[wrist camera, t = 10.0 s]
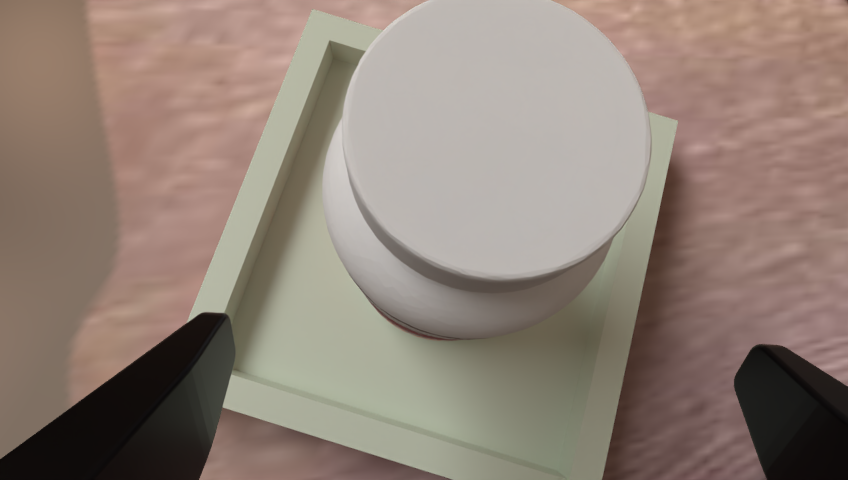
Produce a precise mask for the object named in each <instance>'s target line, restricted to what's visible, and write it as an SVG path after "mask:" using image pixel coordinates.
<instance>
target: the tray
mask: <svg viewBox="0 0 848 480" xmlns="http://www.w3.org/2000/svg"><path fill="white" fill-rule="evenodd" d="M382 31H383V30H380V29H376V28H373V27H370V26H367V25H363V24H360V23H357V22H353V21H350V20H347V19H344V18H340V17H337V16H334V15H331V14H327V13H324V12H321V11H318V10H314V9H312V11H311V14H310V16H309V19H308V21H307V24H306V26H305V29H304V31H303V34H302V36H301V39H300V41H299V44H298V46H297V49H296V51H295V54H294V56H293V59H292V61H291V64H290V66H289V69H288V71H287V74H286V76H285V79H284V81H283V84H282V86H281V89H280V91H279V94H278V96H277V99H276V101H275V104H274V106H273V109H272V111H271V114H270V116H269V119H268V121H267V124H266V126H265V129H264V131H263V134H262V136H261V139H260V141H259V144H258V146H257V149H256V151H255V154H254V156H253V159H252V161H251V164H250V166H249V169H248V171H247V174H246V176H245V179H244V181H243V184H242V186H241V189H240V191H239V194H238V196H237V199H236V201H235V204H234V206H233V209H232V211H231V214H230V216H229V219H228V221H227V224H226V226H225V229H224V231H223V234H222V236H221V239H220V241H219V244H218V246H217V249H216V251H215V254H214V256H213V259H212V261H211V264H210V266H209V269H208V271H207V274H206V276H205V279H204V281H203V284H202V286H201V289H200V291H199V294H198V296H197V299H196V301H195V304H194V306H193V309H192V311H191V314H190V316H189V319H188V321H187V323H188V322H189V321H190V320H192V319H193V318H194V317H196V316H197V315H199V314H200V313H203V312H217V313H226V314H227V315H228V316H229V317H230V320H231V326H232V331H233V337H234V342H235V348H236V355H235V362H234V366H233V370H232V373H231V377H230V381H229V385H228V388H227V392H226V396H225V399H224V403H223V408H226V409H229V410H232V411H236V412H239V413H242V414H245V415H248V416H252V417H255V418H258V419H261V420H264V421H268V422H271V423H274V424H277V425H280V426H283V427H287V428H290V429H293V430H296V431H299V432H303V433H306V434H309V435H312V436H315V437H319V438H322V439H325V440H328V441H331V442H334V443H338V444H341V445H344V446H347V447H350V448H354V449H357V450H360V451H363V452H366V453H370V454H373V455H376V456H379V457H382V458H385V459H389V460H392V461H395V462H398V463H401V464H405V465H408V466H411V467H414V468H417V469H421V470H424V471H427V472H430V473H433V474H437V475H440V476H443V477H446V478H449V479H452V480H602V477H603V473H604V468H605V463H606V459H607V454H608V449H609V444H610V440H611V435H612V430H613V426H614V421H615V416H616V411H617V407H618V402H619V397H620V393H621V388H622V383H623V378H624V374H625V369H626V364H627V359H628V355H629V350H630V345H631V341H632V336H633V331H634V326H635V322H636V317H637V312H638V308H639V303H640V298H641V293H642V289H643V284H644V279H645V275H646V270H647V265H648V260H649V256H650V251H651V246H652V242H653V237H654V232H655V227H656V223H657V218H658V213H659V208H660V204H661V199H662V194H663V190H664V185H665V180H666V175H667V171H668V166H669V161H670V157H671V152H672V147H673V142H674V138H675V133H676V128H677V124H678V121H677V120H673V119H670V118H667V117H664V116H660V115H657V114H654V113H651V112H648V114H649V120H650V127H651V138H652V152H651V161H650V166H649V171H648V175H647V179H646V183H645V187H644V190H643V192H642V194H641V197H640V199H639V201H638V203H637V205H636V207H635V209H634V211H633V212H632V214H631V216H630V217H629V219H628V220H627V222H626V223H625V225H624V226H623V228H622V229H621V230H620V231H619V232H618V234H617V235H616V236H615V237H614V238H613V240H612V244H611V247H610V249H609V251H608V254H607V256H606V258H605V260H604V262H603V263H602V265H601V267H600V268H599V270H598V272H597V273H596V275H595V276H594V277H593V279H592V280H591V281H590V283H589V284H588V285H587V286H586V287H585V288H584V289H583V291H582V292H581V293H580V294H579V295H578V296H577V297H576V298H575V299H574V300H572V301H571V302H570V303H569V304H568V305H567V306H565V307H564V308H563V309H561V310H560V311H558V312H557V313H556V314H554V315H552V316H551V317H549V318H547V319H545V320H544V321H542V322H540V323H538V324H536V325H533V326H531V327H529V328H526V329H524V330H521V331H518V332H514V333H510V334H506V335H502V336H496V337H489V338H484V339H470V340H453V341H437V340H429V339H425V338H420V337H417V336H414V335H412V334H409V333H407V332H405V331H403V330H401V329H399V328H397V327H396V326H394V325H393V324H391V323H390V322H389V321H387V320H386V319H385V318H384V317H383V316H381V315H380V314H379V313H378V312H377V310H376V309H375V308H374V307H373V306H372V305H371V303H370V302H369V300H368V299H367V298H366V296H365V295H364V294H363V292H362V291H361V290H360V288H359V287H358V286H357V285H356V283H355V282H354V281H353V279H352V278H351V276H350V275H349V273H348V272H347V270H346V268H345V267H344V265H343V263H342V262H341V260H340V258H339V256H338V254H337V252H336V250H335V248H334V245H333V243H332V240H331V237H330V235H329V232H328V228H327V224H326V219H325V215H324V208H323V198H322V180H323V172H324V166H325V160H326V155H327V152H328V149H329V146H330V143H331V140H332V137H333V134H334V132H335V130H336V128H337V126H338V124H339V122H340V120H341V119H342V115H343V107H344V101H345V97H346V94H347V90H348V87H349V84H350V81H351V78H352V76H353V74H354V72H355V70H356V68H357V66H358V64H359V61H360V59H361V58H362V56H363V55H364V53H365V52H366V50H367V49H368V47H369V46H370V44H371V43H372V42H373V41H374V40H375V39H376V38H377V37H378V35H379V34H380V33H381V32H382Z"/></svg>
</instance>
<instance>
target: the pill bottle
mask: <svg viewBox="0 0 848 480" xmlns="http://www.w3.org/2000/svg"><path fill="white" fill-rule="evenodd" d="M651 152H652V138H651V127H650V120H649V114H648V110H647V105H646V102H645V99H644V96H643V93H642V90H641V88H640V86H639V83H638V81H637V79H636V77H635V75H634V73H633V71H632V70H631V68H630V66H629V65H628V63H627V62H626V60H625V59H624V57H623V56H622V55H621V53H620V52H619V51H618V50H617V48H616V47H615V46H614V45H613V43H612V42H611V41H610V40H609V39H608V38H607V37H606V36H605V35H604V34H603V33H602V32H601V31H600V30H598V29H597V28H596V27H595V26H594V25H592V24H591V23H590V22H588V21H587V20H586V19H585V18H583V17H582V16H580V15H579V14H577V13H576V12H574V11H572V10H571V9H569V8H567V7H565V6H563V5H561V4H559V3H556V2H554V1H551V0H428V1H426V2H424V3H422V4H420V5H418V6H416V7H414V8H412V9H411V10H409V11H408V12H406V13H405V14H403V15H402V16H400V17H399V18H397V19H396V20H395V21H393V22H392V23H391V24H390V25H389V26H388V27H387V28H385V29H384V30H383V31H382V32H381V33H380V34H379V35H378V37H377V38H376V39H375V40H374V41H373V42H372V43H371V44H370V46H369V47H368V49H367V50H366V52H365V53H364V55H363V56H362V58H361V59H360V61H359V64H358V66H357V68H356V70H355V72H354V74H353V76H352V78H351V81H350V84H349V87H348V90H347V94H346V97H345V101H344V107H343V115H342V119H341V120H340V122H339V124H338V126H337V128H336V130H335V132H334V134H333V137H332V140H331V143H330V146H329V149H328V152H327V155H326V160H325V166H324V172H323V180H322V198H323V208H324V215H325V219H326V224H327V228H328V232H329V235H330V237H331V240H332V243H333V245H334V248H335V250H336V252H337V254H338V256H339V258H340V260H341V262H342V263H343V265H344V267H345V268H346V270H347V272H348V273H349V275H350V276H351V278H352V279H353V281H354V282H355V283H356V285H357V286H358V287H359V288H360V290H361V291H362V292H363V294H364V295H365V296H366V298H367V299H368V300H369V302H370V303H371V305H372V306H373V307H374V308H375V309H376V310H377V312H378V313H379V314H380V315H381V316H383V317H384V318H385V319H386V320H387V321H389V322H390V323H391V324H393V325H394V326H396V327H397V328H399V329H401V330H403V331H405V332H407V333H409V334H412V335H414V336H417V337H420V338H425V339H429V340H437V341H453V340H470V339H484V338H489V337H496V336H502V335H506V334H510V333H514V332H518V331H521V330H524V329H526V328H529V327H531V326H533V325H536V324H538V323H540V322H542V321H544V320H545V319H547V318H549V317H551V316H552V315H554V314H556V313H557V312H558V311H560V310H561V309H563V308H564V307H565V306H567V305H568V304H569V303H570V302H571V301H572V300H574V299H575V298H576V297H577V296H578V295H579V294H580V293H581V292H582V291H583V289H584V288H585V287H586V286H587V285H588V284H589V283H590V281H591V280H592V279H593V277H594V276H595V275H596V273H597V272H598V270H599V268H600V267H601V265H602V263H603V262H604V260H605V258H606V256H607V254H608V251H609V249H610V247H611V244H612V240H613V238H614V237H615V236H616V235H617V234H618V232H619V231H620V230H621V229H622V228H623V226H624V225H625V223H626V222H627V220H628V219H629V217H630V216H631V214H632V212H633V211H634V209H635V207H636V205H637V203H638V201H639V199H640V197H641V194H642V192H643V190H644V187H645V183H646V179H647V175H648V171H649V166H650V161H651Z"/></svg>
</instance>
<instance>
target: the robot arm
mask: <svg viewBox="0 0 848 480" xmlns="http://www.w3.org/2000/svg"><path fill="white" fill-rule="evenodd" d="M235 355H236V348H235V342H234V337H233V331H232V326H231V320H230V317H229V316H228V315H227V314H226V313H217V312H203V313H200V314H199V315H197V316H196V317H194V318H193V319H192V320H190V321H189V322H188V323H186V324H185V325H183V326H182V327H181V328H179V329H178V330H177V331H175V332H174V333H172V334H171V335H170V336H168V337H167V338H166V339H164V340H163V341H162V342H160V343H159V344H157V345H156V346H155V347H153V348H152V349H151V350H149V351H148V352H146V353H145V354H144V355H142V356H141V357H140V358H138V359H137V360H135V361H134V362H133V363H131V364H130V365H129V366H127V367H126V368H125V369H123V370H122V371H120V372H119V373H118V374H116V375H115V376H114V377H112V378H111V379H109V380H108V381H107V382H105V383H104V384H103V385H101V386H100V387H98V388H97V389H96V390H94V391H93V392H92V393H90V394H89V395H88V396H86V397H85V398H83V399H82V400H81V401H79V402H78V403H77V404H75V405H74V406H72V407H71V408H70V409H68V410H67V411H66V412H64V413H63V414H62V415H60V416H59V417H57V418H56V419H55V420H53V421H52V422H51V423H49V424H48V425H46V426H45V427H44V428H42V429H41V430H40V431H38V432H37V433H36V434H34V435H33V436H31V437H30V438H29V439H27V440H26V441H25V442H23V443H22V444H20V445H19V446H18V447H16V448H15V449H14V450H13V451H11V452H9V453H8V454H7V455H5V456H4V457H3V458H1V459H0V480H199V478H200V476H201V473H202V471H203V468H204V466H205V463H206V460H207V458H208V455H209V452H210V449H211V447H212V443H213V440H214V436H215V433H216V429H217V425H218V422H219V418H220V414H221V411H222V407H223V403H224V399H225V396H226V392H227V388H228V385H229V381H230V377H231V373H232V370H233V366H234V362H235ZM734 388H735V392H736V395H737V397H738V400H739V403H740V406H741V409H742V412H743V415H744V418H745V420H746V423H747V426H748V429H749V432H750V435H751V438H752V440H753V443H754V446H755V449H756V452H757V455H758V458H759V460H760V463H761V466H762V468H763V471H764V474H765V476H766V478H767V480H848V386H846V385H844V384H843V383H841V382H840V381H838V380H836V379H835V378H833V377H832V376H830V375H828V374H827V373H825V372H824V371H822V370H821V369H819V368H817V367H816V366H814V365H813V364H811V363H809V362H808V361H806V360H805V359H803V358H801V357H800V356H798V355H797V354H795V353H794V352H792V351H790V350H789V349H787V348H785V347H783V346H780V345H767V344H759V345H756V346H754V347H753V348H752V349H751V350H750V352H749V354H748V355H747V357H746V358H745V360H744V362H743V363H742V365H741V367H740V368H739V370H738V372H737V373H736V375H735V379H734Z"/></svg>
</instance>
